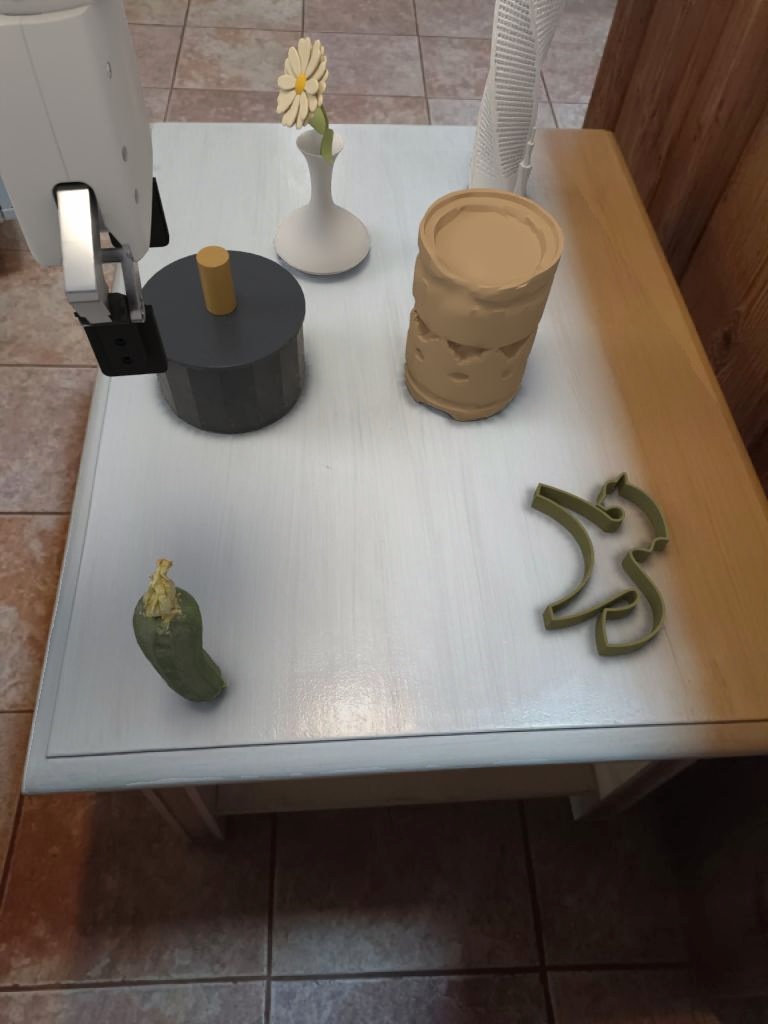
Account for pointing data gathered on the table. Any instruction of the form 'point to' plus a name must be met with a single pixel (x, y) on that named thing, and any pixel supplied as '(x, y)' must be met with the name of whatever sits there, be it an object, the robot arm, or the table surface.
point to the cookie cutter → (608, 521)
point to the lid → (225, 309)
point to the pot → (237, 392)
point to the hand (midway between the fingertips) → (139, 303)
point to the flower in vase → (315, 174)
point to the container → (478, 299)
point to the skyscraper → (512, 93)
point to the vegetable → (175, 638)
